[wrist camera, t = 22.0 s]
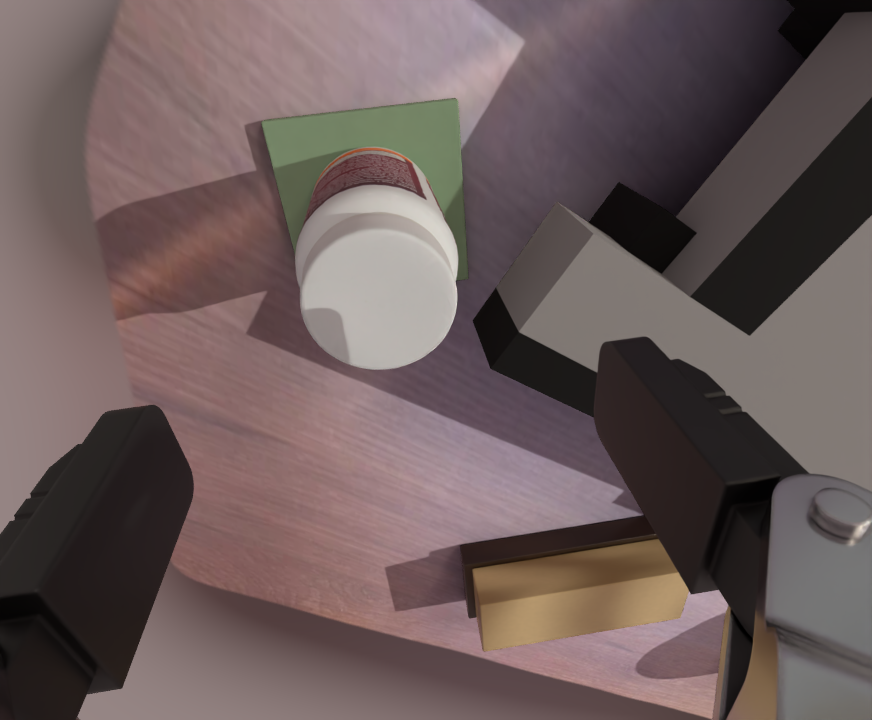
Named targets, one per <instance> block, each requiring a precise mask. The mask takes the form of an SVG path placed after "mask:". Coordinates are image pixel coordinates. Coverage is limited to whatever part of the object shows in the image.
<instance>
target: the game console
mask: <svg viewBox="0 0 872 720" xmlns="http://www.w3.org/2000/svg"><path fill="white" fill-rule="evenodd" d="M787 1H788V2H789V3H790V4H791V5H792V6H793V8H794V11H793V12H792V13H791V14H790V16H789V17H788V18H787V19H786V21H785V22H784V23H783V25H782V26H781V27H780V28H779V30H778V31H779V32H780V33H781V34H782V35H783V36H784V37H785V38H786V40H787V41H788V42H789V43H790V44H791V45H792V46H793V47H794V48H795V49H796V50H797V51H798V52H799V53H800V54H801V55H802V56H803V57H804V58H805V62H804V63H803V64H802V65H801V66H800V68H799V69H798V70H797V71H796V72H795V74H794V75H793V76H792V77H791V78H790V80H789V81H788V82H787V83H786V84H785V86H784V87H783V88H782V89H781V91H780V92H779V93H778V94H777V95H776V97H775V98H774V99H773V100H772V101H771V103H770V104H769V105H768V106H767V107H766V109H765V110H764V111H763V112H762V113H761V115H760V116H759V117H758V118H757V119H756V121H755V122H754V123H753V124H752V126H751V127H750V128H749V129H748V130H747V132H746V133H745V134H744V135H743V136H742V138H741V139H740V140H739V141H738V142H737V144H736V145H735V146H734V147H733V148H732V150H731V151H730V152H729V153H728V154H727V156H726V157H725V158H724V159H723V160H722V162H721V163H720V164H719V165H718V167H717V168H716V169H715V170H714V171H713V173H712V174H711V175H710V176H709V177H708V179H707V180H706V181H705V182H704V183H703V185H702V186H701V187H700V188H699V189H698V191H697V192H696V193H695V194H694V195H693V197H692V198H691V199H690V200H689V202H688V203H687V204H686V205H685V206H684V208H683V209H682V210H681V211H680V212H679V214H678V215H677V216H676V217H675V216H673V215H672V214H671V213H669V212H668V211H667V210H665V209H664V208H662V207H661V206H659V205H657V204H655V203H654V202H652V201H650V200H649V199H647V198H645V197H644V196H642V195H640V194H638V193H637V192H635V191H633V190H632V189H630V188H628V187H627V186H625V185H623V184H621V183H620V182H619V183H618V184H617V185H616V187H615V188H614V189H613V191H612V192H611V193H610V195H609V196H608V197H607V199H606V200H605V201H604V203H603V204H602V205H601V207H600V208H599V209H598V211H597V212H596V213H595V215H594V216H593V217H592V219H591V220H590V221H589V222H587V221H586V220H584V219H582V218H581V217H579V216H578V215H576V214H575V213H573V212H572V211H570V210H569V209H567V208H566V207H564V206H563V205H561V204H560V203H558V202H556V203H555V205H554V206H553V208H552V209H551V210H550V212H549V213H548V215H547V216H546V218H545V219H544V220H543V222H542V223H541V225H540V226H539V227H538V229H537V230H536V232H535V233H534V235H533V236H532V237H531V239H530V240H529V242H528V243H527V244H526V246H525V247H524V249H523V250H522V251H521V253H520V254H519V256H518V257H517V259H516V260H515V261H514V263H513V264H512V266H511V267H510V268H509V270H508V271H507V273H506V274H505V276H504V277H503V278H502V280H501V281H500V283H499V284H498V285H497V287H496V288H495V290H494V291H493V293H492V294H491V295H490V297H489V298H488V300H487V301H486V302H485V304H484V305H483V307H482V308H481V309H480V311H479V312H478V314H477V315H476V317H475V318H474V319H473V323H474V326H475V328H476V331H477V334H478V336H479V339H480V342H481V344H482V347H483V350H484V352H485V355H486V358H487V360H488V363H489V366H490V368H491V369H492V370H494V371H496V372H499V373H501V374H503V375H505V376H507V377H509V378H511V379H513V380H516V381H518V382H520V383H522V384H524V385H526V386H528V387H530V388H532V389H535V390H537V391H539V392H541V393H543V394H545V395H547V396H549V397H551V398H554V399H556V400H558V401H560V402H562V403H564V404H566V405H568V406H571V407H573V408H575V409H577V410H579V411H581V412H583V413H585V414H587V415H590V416H592V417H594V400H595V390H596V381H597V371H598V361H599V352H600V348H601V346H602V344H603V343H604V342H607V341H614V340H621V339H628V338H635V337H643V336H646V337H648V338H650V339H651V340H652V341H653V342H654V343H655V344H656V345H657V346H658V347H659V348H660V349H661V350H662V351H663V352H664V353H665V354H666V356H667V357H668V358H669V359H670V360H673V359H681V360H682V361H684V362H686V363H688V364H690V365H692V366H694V367H696V368H698V369H700V370H702V371H704V372H705V373H707V374H708V375H709V376H710V377H711V378H712V379H713V380H714V381H715V382H716V383H717V384H718V385H719V386H720V387H721V388H722V389H723V390H724V391H725V392H726V396H731V397H732V398H733V399H734V400H735V401H736V402H737V403H738V404H739V405H740V406H741V407H742V411H743V412H747V413H748V414H749V415H750V416H751V417H752V418H753V419H754V420H755V421H756V422H757V423H758V424H759V425H760V426H761V427H762V428H763V429H764V430H765V431H766V432H767V433H768V434H769V435H771V436H772V437H773V438H774V439H775V440H776V441H777V442H778V443H779V444H780V445H781V446H782V447H783V448H784V449H785V450H786V451H787V452H788V453H789V454H790V455H791V456H792V457H793V458H794V459H795V460H796V461H797V462H798V463H799V464H800V465H801V466H802V467H803V468H804V469H805V470H806V471H807V472H808V473H810V474H821V475H828V476H833V477H837V478H840V479H844V480H847V481H849V482H852V483H854V484H857V485H859V486H861V487H863V488H865V489H867V490H869V491H871V492H872V0H787Z"/></svg>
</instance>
